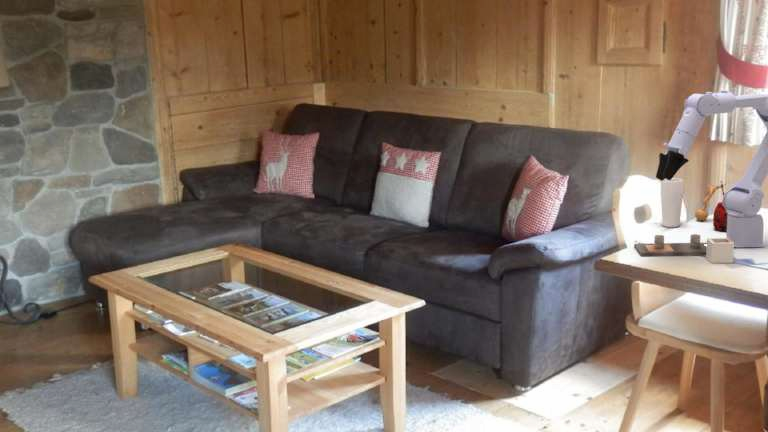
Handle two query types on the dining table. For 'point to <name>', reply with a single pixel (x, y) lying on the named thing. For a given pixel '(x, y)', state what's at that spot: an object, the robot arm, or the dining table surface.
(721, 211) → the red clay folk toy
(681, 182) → the white tall cup
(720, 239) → the sleeve
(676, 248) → the pin board
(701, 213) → the tan bulb-shaped piece
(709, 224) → the dining table surface
